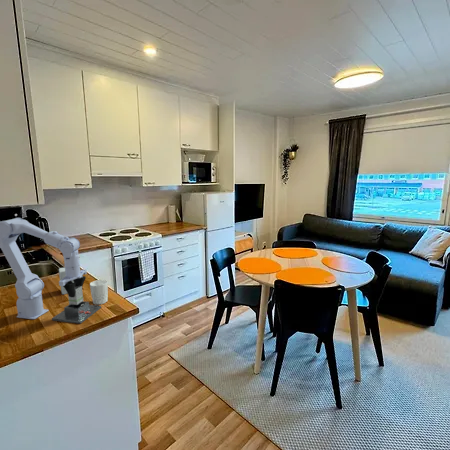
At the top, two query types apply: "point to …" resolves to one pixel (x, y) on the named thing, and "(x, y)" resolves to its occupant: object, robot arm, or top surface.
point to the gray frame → (76, 312)
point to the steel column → (76, 296)
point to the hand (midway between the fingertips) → (75, 294)
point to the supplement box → (62, 275)
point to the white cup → (99, 291)
